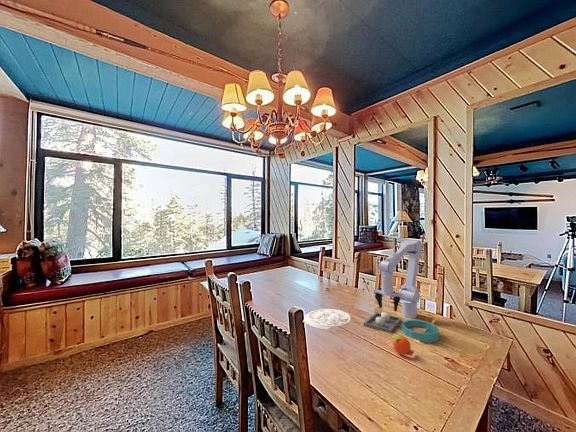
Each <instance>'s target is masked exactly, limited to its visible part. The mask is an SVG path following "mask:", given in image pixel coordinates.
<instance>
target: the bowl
mask: <svg viewBox="0 0 576 432" xmlns="http://www.w3.org/2000/svg"><path fill="white" fill-rule="evenodd" d="M401 322H402V323H401V332H402V333H403V334H404V335H405V336H407V337H409V338H411V339H414V340H418V341H419V343H427V344H429V343H436V342H438V341H439V338H440V329H439V328H438V326H437V325H435V324H433V323H432V322H429V321H424V320H421V319H406V320H403V321H401ZM409 327H411V328H412V327H419V328H424V329H426V330H425V332H420V331H415V330H412V329H410V328H409Z"/></svg>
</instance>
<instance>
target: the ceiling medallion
mask: <svg viewBox="0 0 576 432" xmlns="http://www.w3.org/2000/svg"><path fill="white" fill-rule="evenodd" d="M304 319H305V320H304ZM303 320H304V323H306V324H307V325H308V324H309V325H308V326H310V327H312V328H315V329H318V330H322V331H324V330H325V331H329V330H330V329H331V328H333V327H334V328H335V327H341V326H346V325H348V324H349V323H350V322H351V321H352V316H351V315H350V314H349V313H348V312H346V311H343V310H339V309H335V308H333V309H332V308H319V309H314V310H312V311H309V312H308V313H306V314H305V316H304V318H303ZM345 320H347V321H345Z"/></svg>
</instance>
